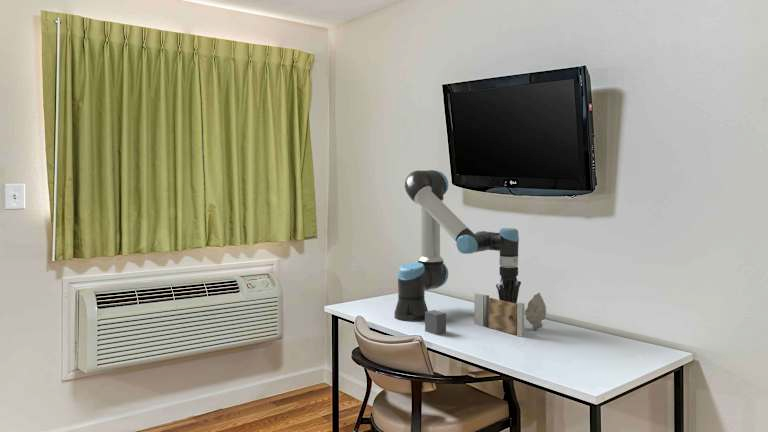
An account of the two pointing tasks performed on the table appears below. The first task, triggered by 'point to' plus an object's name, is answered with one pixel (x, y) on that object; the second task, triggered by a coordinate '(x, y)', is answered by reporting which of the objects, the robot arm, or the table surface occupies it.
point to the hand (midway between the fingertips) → (508, 322)
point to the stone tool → (536, 311)
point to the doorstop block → (435, 322)
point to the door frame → (482, 313)
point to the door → (502, 315)
